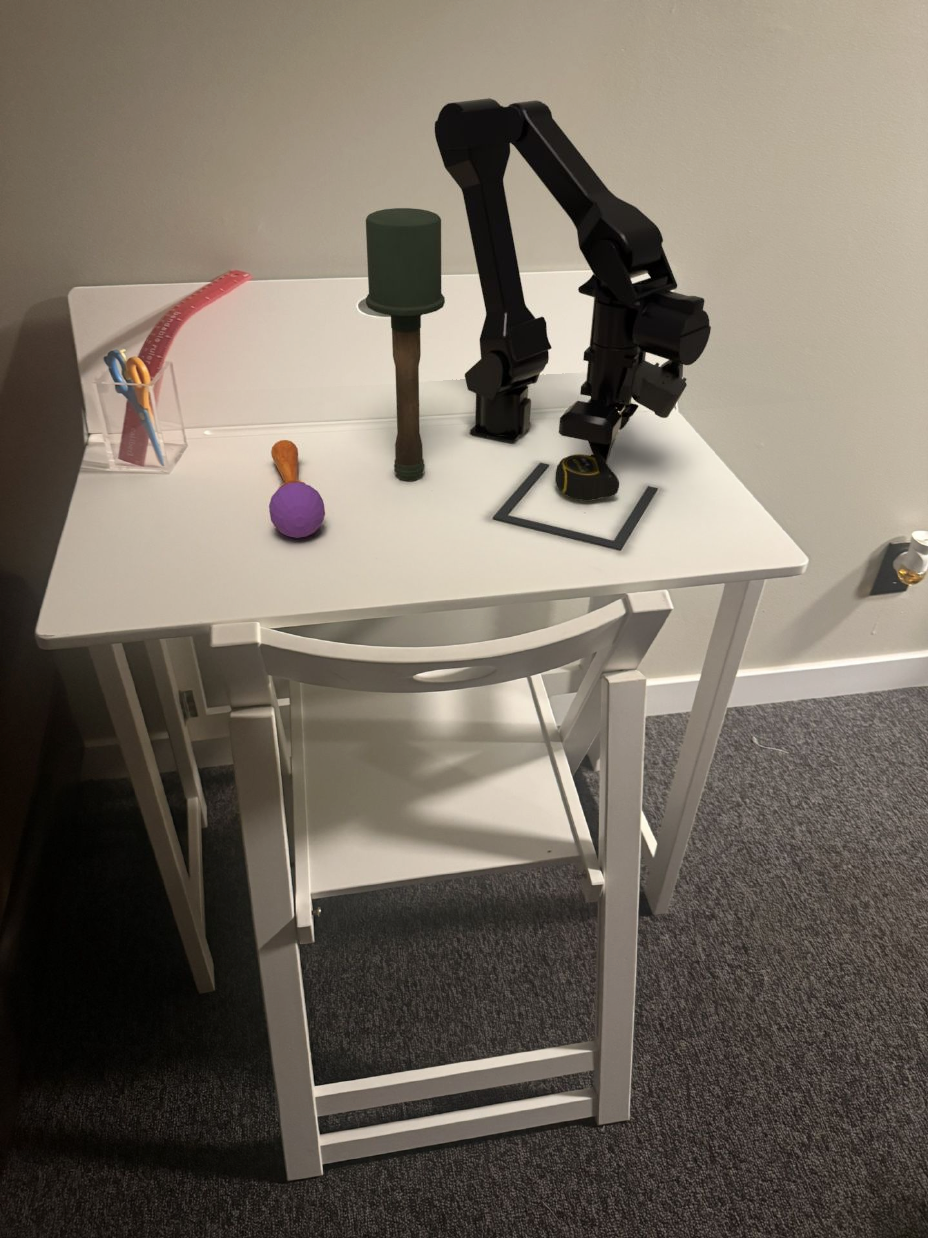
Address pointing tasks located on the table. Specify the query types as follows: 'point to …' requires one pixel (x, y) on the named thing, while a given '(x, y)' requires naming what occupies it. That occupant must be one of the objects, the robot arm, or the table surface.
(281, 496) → the purple maraca
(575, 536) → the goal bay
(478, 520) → the table surface
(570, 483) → the tape measure
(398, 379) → the potato masher grenade
